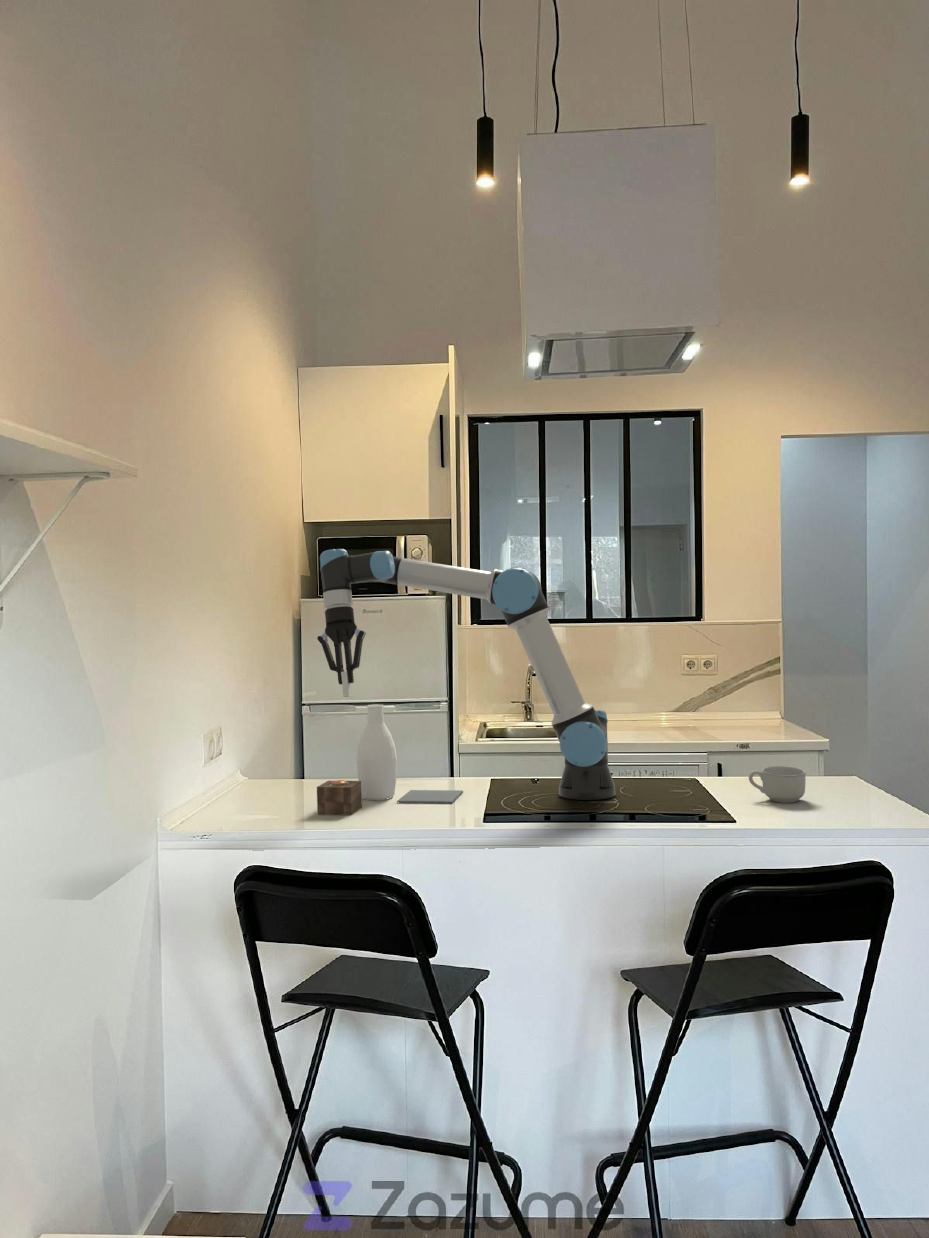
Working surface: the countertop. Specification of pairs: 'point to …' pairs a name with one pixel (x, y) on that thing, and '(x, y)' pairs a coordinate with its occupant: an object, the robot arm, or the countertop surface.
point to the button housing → (339, 798)
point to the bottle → (376, 757)
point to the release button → (339, 783)
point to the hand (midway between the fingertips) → (347, 696)
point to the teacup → (781, 783)
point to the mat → (431, 796)
